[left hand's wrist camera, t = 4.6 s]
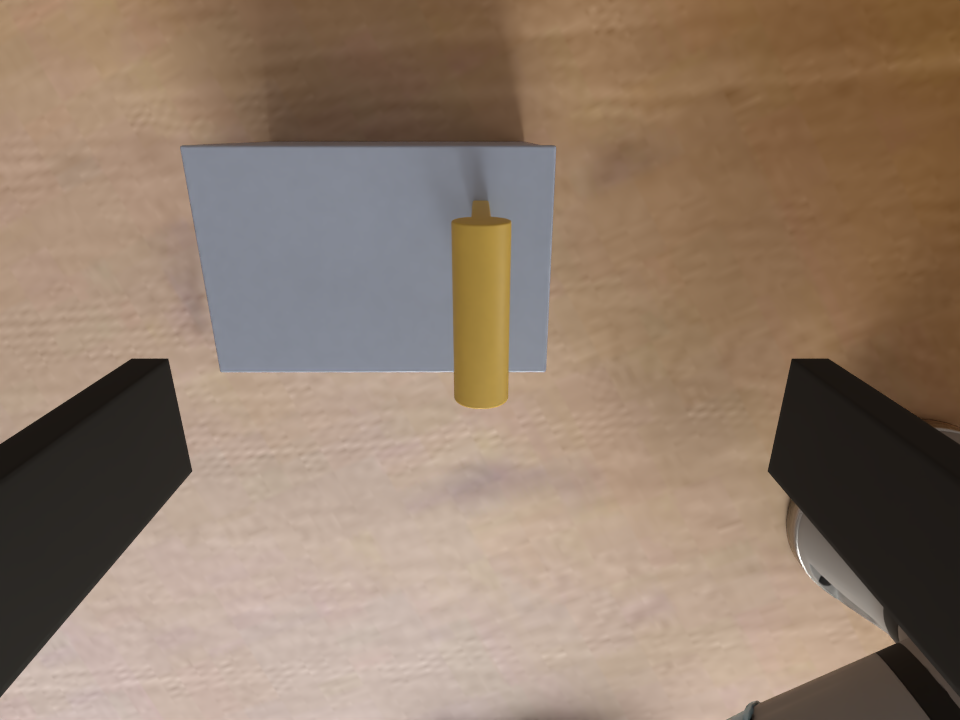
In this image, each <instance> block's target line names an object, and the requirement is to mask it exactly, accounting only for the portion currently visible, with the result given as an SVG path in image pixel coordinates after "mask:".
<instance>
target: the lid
mask: <svg viewBox="0 0 960 720" xmlns="http://www.w3.org/2000/svg"><path fill="white" fill-rule="evenodd" d="M180 149H181V154H182V160H183V166H184V171H185V177H186V182H187V188H188V194H189V199H190V205H191V210H192V216H193V221H194V227H195V233H196V238H197V244H198V249H199V255H200V260H201V266H202V272H203V277H204V283H205V288H206V294H207V299H208V305H209V311H210V316H211V322H212V327H213V333H214V339H215V344H216V350H217V355H218V361H219V366H220V371H221V372H454V398H455V400H456V402H457V403H459V404H460V405H462V406H465V407H468V408H474V409H489V408H494V407H498V406H500V405H502V404H504V403H505V402H506V401H507V399H508V373H509V372H545V371H546V359H547V337H548V315H549V293H550V271H551V249H552V227H553V205H554V183H555V161H556V146H554V145H183V146H180Z"/></svg>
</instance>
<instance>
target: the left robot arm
mask: <svg viewBox="0 0 960 720" xmlns="http://www.w3.org/2000/svg"><path fill="white" fill-rule="evenodd" d="M191 472H192V468H191V463H190V459H189V454H188V449H187V445H186V440H185V435H184V430H183V426H182V421H181V416H180V412H179V407H178V402H177V398H176V393H175V388H174V384H173V379H172V374H171V370H170V365H169V360H168V359H131V360H129V361H127V362H126V363H124V364H123V365H121V366H120V367H118V368H117V369H115V370H114V371H112V372H111V373H109V374H107V375H106V376H104V377H103V378H101V379H100V380H98V381H97V382H95V383H94V384H92V385H91V386H89V387H87V388H86V389H84V390H83V391H81V392H80V393H78V394H77V395H75V396H74V397H72V398H71V399H69V400H67V401H66V402H64V403H63V404H61V405H60V406H58V407H57V408H55V409H54V410H52V411H51V412H49V413H47V414H46V415H44V416H43V417H41V418H40V419H38V420H37V421H35V422H34V423H32V424H31V425H29V426H28V427H26V428H24V429H23V430H21V431H20V432H18V433H17V434H15V435H14V436H12V437H11V438H9V439H8V440H6V441H4V442H3V443H1V444H0V697H1V696H2V695H3V694H4V692H5V691H6V690H7V689H8V688H9V686H10V685H11V684H12V683H13V682H14V681H15V679H16V678H17V677H18V676H19V675H20V673H21V672H22V671H23V670H24V669H25V668H26V666H27V665H28V664H29V663H30V662H31V661H32V659H33V658H34V657H35V656H36V655H37V653H38V652H39V651H40V650H41V649H42V648H43V646H44V645H45V644H46V643H47V642H48V641H49V639H50V638H51V637H52V636H53V635H54V633H55V632H56V631H57V630H58V629H59V628H60V626H61V625H62V624H63V623H64V622H65V620H66V619H67V618H68V617H69V616H70V615H71V613H72V612H73V611H74V610H75V609H76V608H77V606H78V605H79V604H80V603H81V602H82V600H83V599H84V598H85V597H86V596H87V595H88V593H89V592H90V591H91V590H92V589H93V588H94V586H95V585H96V584H97V583H98V582H99V580H100V579H101V578H102V577H103V576H104V575H105V573H106V572H107V571H108V570H109V569H110V567H111V566H112V565H113V564H114V563H115V562H116V560H117V559H118V558H119V557H120V556H121V555H122V553H123V552H124V551H125V550H126V549H127V547H128V546H129V545H130V544H131V543H132V542H133V540H134V539H135V538H136V537H137V536H138V535H139V533H140V532H141V531H142V530H143V529H144V527H145V526H146V525H147V524H148V523H149V522H150V520H151V519H152V518H153V517H154V516H155V514H156V513H157V512H158V511H159V510H160V509H161V507H162V506H163V505H164V504H165V503H166V502H167V500H168V499H169V498H170V497H171V496H172V494H173V493H174V492H175V491H176V490H177V489H178V487H179V486H180V485H181V484H182V483H183V482H184V480H185V479H186V478H187V477H188V476H189V474H190V473H191ZM768 472H769V473H770V474H771V476H772V477H773V478H774V479H775V480H776V482H777V483H778V484H779V485H780V486H781V487H782V489H783V490H784V491H785V492H786V493H787V494H788V496H789V497H790V498H791V499H792V500H791V502H790V506H789V509H788V514H787V524H786V529H787V537H788V542H789V545H790V548H791V550H792V552H793V554H794V556H795V557H796V559H797V560H798V562H799V563H800V564H801V566H802V567H803V568H804V570H805V571H806V572H807V574H808V575H809V577H810V578H811V579H812V580H813V581H814V582H815V583H816V584H817V585H819V586H820V587H821V588H822V589H824V590H825V591H826V592H827V593H829V594H830V595H832V596H833V597H835V598H836V599H838V600H840V601H841V602H842V603H844V604H845V605H846V606H848V607H849V608H851V609H852V610H854V611H855V612H857V613H858V614H860V615H861V616H863V617H864V618H866V619H867V620H869V621H870V622H872V623H873V624H875V625H876V626H878V627H879V628H880V629H882V630H883V631H885V632H886V633H888V634H889V636H890V637H891V638H892V639H893V640H894V641H895V643H896V644H894V645H891V646H889V647H887V648H885V649H882V650H880V651H878V652H876V653H873V654H871V655H869V656H867V657H864V658H862V659H860V660H858V661H855V662H853V663H851V664H848V665H846V666H844V667H842V668H839V669H837V670H835V671H832V672H830V673H828V674H826V675H823V676H821V677H819V678H816V679H814V680H812V681H810V682H807V683H805V684H803V685H800V686H798V687H796V688H794V689H791V690H789V691H787V692H784V693H782V694H780V695H778V696H775V697H773V698H771V699H768V700H766V701H764V702H762V703H760V702H759V701H754V702H751V703H749V704H748V705H747V706H746V708H745V710H744V711H743V712H741V713H739V714H737V715H735V716H733V717H731V718H729V719H727V720H960V428H959V427H957V426H954V425H951V424H948V423H945V422H940V421H935V420H925V419H920V418H919V417H917V416H916V415H914V414H913V413H911V412H909V411H908V410H906V409H905V408H903V407H902V406H900V405H899V404H897V403H896V402H894V401H893V400H891V399H889V398H888V397H886V396H885V395H883V394H882V393H880V392H879V391H877V390H876V389H874V388H873V387H871V386H869V385H868V384H866V383H865V382H863V381H862V380H860V379H859V378H857V377H856V376H854V375H853V374H851V373H849V372H848V371H846V370H845V369H843V368H842V367H840V366H839V365H837V364H836V363H834V362H833V361H831V360H829V359H792V360H791V365H790V370H789V374H788V379H787V384H786V388H785V393H784V398H783V402H782V407H781V412H780V416H779V421H778V426H777V430H776V435H775V440H774V445H773V449H772V454H771V459H770V463H769V468H768Z"/></svg>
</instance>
